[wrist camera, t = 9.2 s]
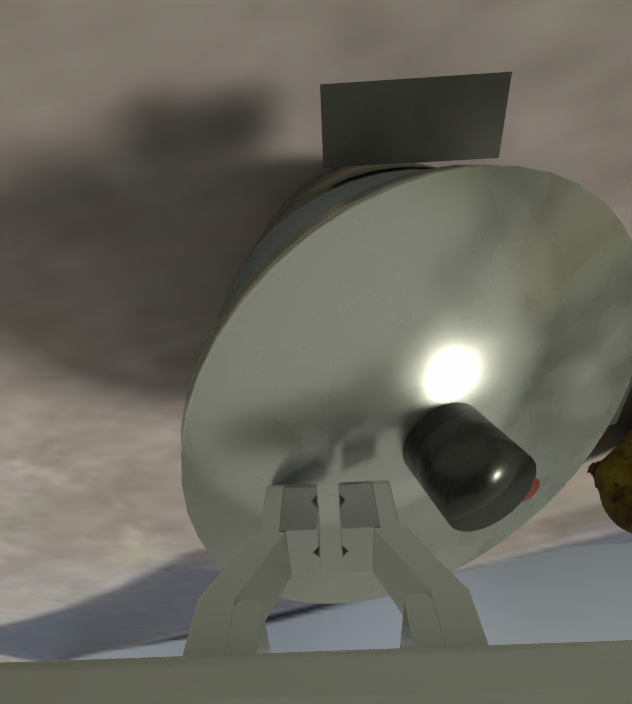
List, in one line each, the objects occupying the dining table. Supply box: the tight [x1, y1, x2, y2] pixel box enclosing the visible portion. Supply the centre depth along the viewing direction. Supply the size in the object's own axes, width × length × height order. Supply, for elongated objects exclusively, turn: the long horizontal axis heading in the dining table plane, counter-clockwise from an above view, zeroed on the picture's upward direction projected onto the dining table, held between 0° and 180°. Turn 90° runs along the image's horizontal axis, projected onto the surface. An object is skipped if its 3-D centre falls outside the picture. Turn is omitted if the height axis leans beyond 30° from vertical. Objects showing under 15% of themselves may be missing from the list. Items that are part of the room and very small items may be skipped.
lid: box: [181, 165, 632, 604], centre depth 12 cm, size 17×17×3 cm
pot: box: [219, 72, 512, 318], centre depth 21 cm, size 21×17×10 cm
